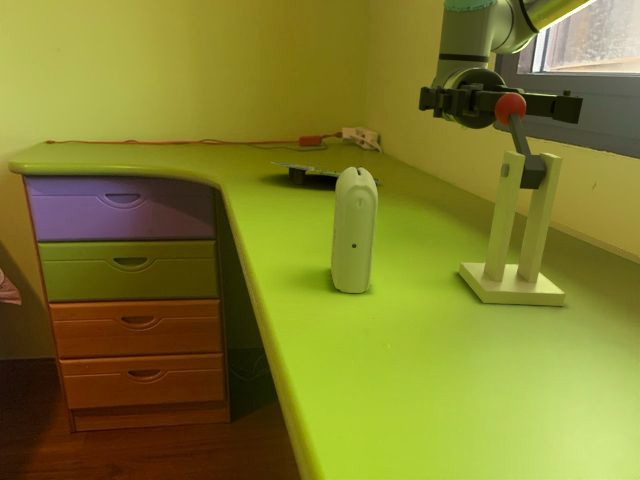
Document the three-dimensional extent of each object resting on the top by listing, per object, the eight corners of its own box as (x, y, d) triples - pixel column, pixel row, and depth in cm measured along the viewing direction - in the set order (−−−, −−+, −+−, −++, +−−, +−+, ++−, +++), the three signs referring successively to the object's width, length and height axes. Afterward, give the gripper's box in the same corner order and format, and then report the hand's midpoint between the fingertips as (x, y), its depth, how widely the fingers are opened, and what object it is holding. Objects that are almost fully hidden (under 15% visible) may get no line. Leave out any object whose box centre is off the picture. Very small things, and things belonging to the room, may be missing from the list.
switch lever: (489, 114, 84) (497, 85, 81) (517, 115, 84) (527, 87, 81) (510, 193, 75) (521, 164, 72) (542, 194, 76) (554, 166, 73)
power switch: (458, 273, 86) (477, 145, 79) (528, 276, 86) (554, 149, 79) (483, 303, 75) (508, 159, 68) (563, 306, 76) (596, 163, 69)
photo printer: (372, 294, 76) (383, 176, 70) (333, 293, 75) (341, 174, 69) (363, 269, 85) (372, 162, 79) (328, 267, 84) (335, 160, 79)
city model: (404, 196, 146) (409, 166, 143) (333, 192, 128) (338, 157, 126) (316, 181, 160) (320, 153, 158) (242, 175, 143) (245, 144, 141)
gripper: (554, 132, 100) (616, 148, 81) (383, 122, 98) (407, 136, 79) (565, 73, 96) (634, 77, 77) (389, 62, 95) (415, 63, 76)
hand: (519, 107), depth 78 cm, fingers open, 13 cm apart
